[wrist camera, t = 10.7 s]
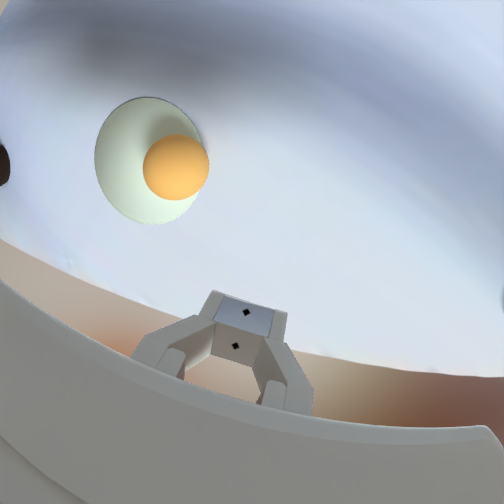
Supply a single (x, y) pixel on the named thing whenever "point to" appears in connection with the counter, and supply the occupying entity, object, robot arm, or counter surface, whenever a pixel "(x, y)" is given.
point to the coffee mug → (4, 166)
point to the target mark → (138, 158)
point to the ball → (175, 167)
